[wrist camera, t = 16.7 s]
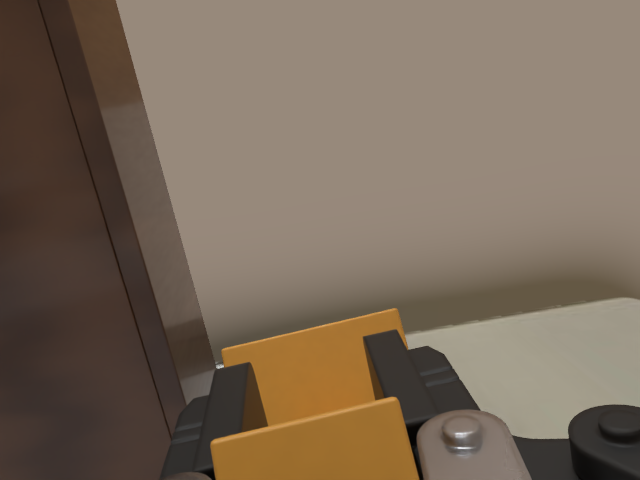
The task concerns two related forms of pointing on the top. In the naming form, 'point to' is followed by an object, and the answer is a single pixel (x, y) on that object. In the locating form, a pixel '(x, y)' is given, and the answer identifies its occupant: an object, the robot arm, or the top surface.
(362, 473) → the brush
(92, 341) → the shelf
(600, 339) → the top surface
